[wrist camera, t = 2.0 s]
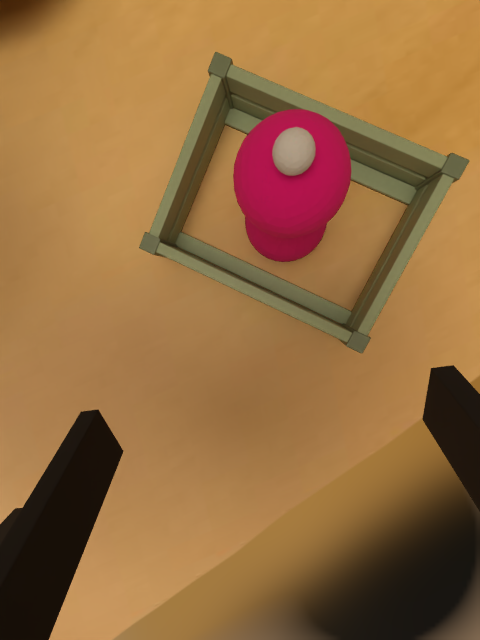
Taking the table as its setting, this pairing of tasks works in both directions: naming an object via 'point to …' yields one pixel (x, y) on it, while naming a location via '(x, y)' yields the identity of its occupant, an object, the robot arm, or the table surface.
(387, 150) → the crate
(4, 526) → the robot arm
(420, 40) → the table surface
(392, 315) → the table surface
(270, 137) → the pepper mill
